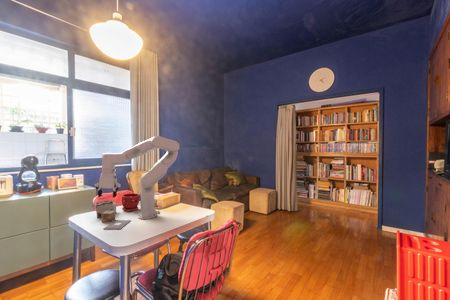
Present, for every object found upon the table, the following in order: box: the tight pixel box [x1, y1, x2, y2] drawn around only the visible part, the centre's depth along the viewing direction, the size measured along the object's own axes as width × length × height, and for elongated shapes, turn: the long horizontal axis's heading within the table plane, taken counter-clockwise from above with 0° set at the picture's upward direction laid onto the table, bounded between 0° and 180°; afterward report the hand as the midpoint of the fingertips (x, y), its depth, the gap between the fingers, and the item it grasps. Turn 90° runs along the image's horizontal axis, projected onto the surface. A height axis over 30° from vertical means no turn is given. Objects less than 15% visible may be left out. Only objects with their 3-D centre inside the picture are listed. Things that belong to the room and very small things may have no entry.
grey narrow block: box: [112, 202, 117, 214], centre depth 163 cm, size 6×6×7 cm
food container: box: [94, 200, 114, 219], centre depth 156 cm, size 12×6×10 cm, turn 146°
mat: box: [103, 219, 132, 230], centre depth 137 cm, size 10×15×1 cm, turn 1°
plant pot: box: [121, 193, 140, 212], centre depth 171 cm, size 13×13×12 cm
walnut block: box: [101, 211, 116, 223], centre depth 145 cm, size 6×6×6 cm
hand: (107, 196), depth 144 cm, fingers open, 9 cm apart
